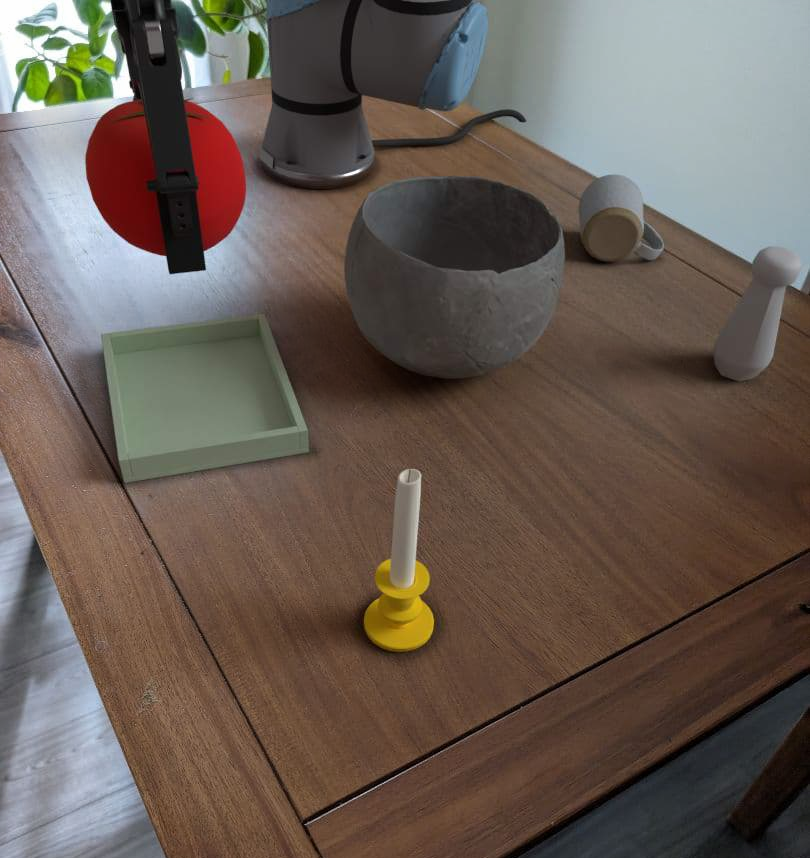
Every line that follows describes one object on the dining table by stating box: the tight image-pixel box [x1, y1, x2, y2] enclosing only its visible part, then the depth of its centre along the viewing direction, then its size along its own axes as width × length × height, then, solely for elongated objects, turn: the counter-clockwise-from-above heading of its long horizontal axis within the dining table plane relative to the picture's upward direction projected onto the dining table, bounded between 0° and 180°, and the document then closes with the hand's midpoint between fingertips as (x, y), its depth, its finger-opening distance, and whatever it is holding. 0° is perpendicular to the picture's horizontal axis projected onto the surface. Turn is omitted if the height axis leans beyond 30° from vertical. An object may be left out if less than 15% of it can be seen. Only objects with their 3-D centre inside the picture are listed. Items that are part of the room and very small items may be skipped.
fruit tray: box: [100, 313, 310, 484], centre depth 80 cm, size 16×19×3 cm
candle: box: [363, 468, 435, 653], centre depth 58 cm, size 5×5×16 cm
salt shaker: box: [713, 246, 803, 382], centre depth 84 cm, size 6×6×13 cm
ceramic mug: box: [578, 174, 665, 263], centre depth 102 cm, size 11×8×8 cm
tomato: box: [84, 97, 247, 257], centre depth 65 cm, size 12×12×10 cm
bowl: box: [343, 175, 566, 380], centre depth 83 cm, size 20×20×15 cm
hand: (176, 230), depth 68 cm, fingers closed on tomato, 12 cm apart
